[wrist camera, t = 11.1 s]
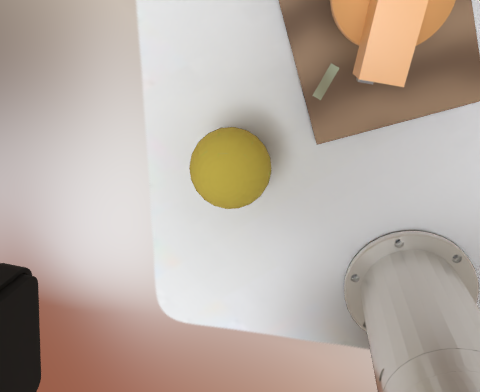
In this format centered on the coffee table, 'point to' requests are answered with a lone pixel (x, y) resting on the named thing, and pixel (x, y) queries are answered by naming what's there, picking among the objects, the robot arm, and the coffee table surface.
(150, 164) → the coffee table surface
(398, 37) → the orange bar knob
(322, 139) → the post board
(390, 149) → the coffee table surface
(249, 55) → the coffee table surface
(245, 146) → the light bulb
